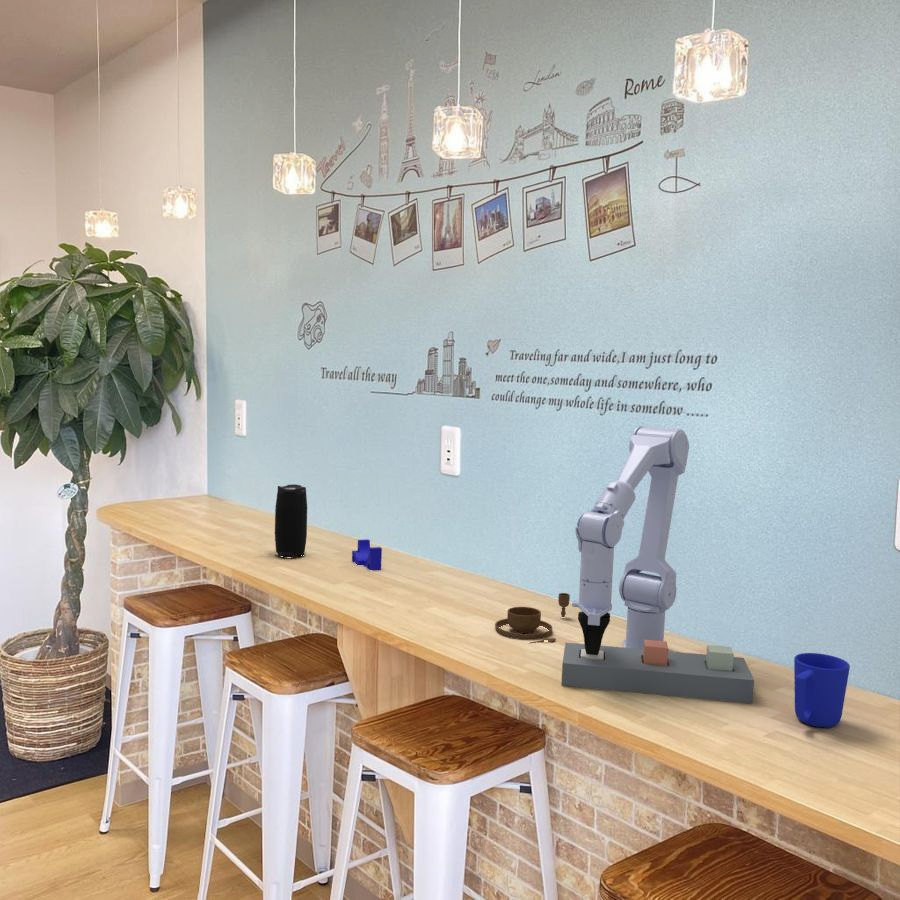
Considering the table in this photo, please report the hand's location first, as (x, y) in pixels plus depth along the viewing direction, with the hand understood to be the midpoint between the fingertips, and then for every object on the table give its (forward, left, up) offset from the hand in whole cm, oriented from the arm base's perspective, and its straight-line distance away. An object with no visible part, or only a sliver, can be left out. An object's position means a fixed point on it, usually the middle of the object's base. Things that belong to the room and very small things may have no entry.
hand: (592, 653), depth 162 cm
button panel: (0, +11, -4) cm, 12 cm away
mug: (+13, +35, -4) cm, 38 cm away
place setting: (-27, -11, -5) cm, 29 cm away
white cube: (0, 0, -4) cm, 4 cm away
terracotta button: (0, +11, -1) cm, 11 cm away
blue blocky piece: (-73, -61, -5) cm, 95 cm away
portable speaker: (-77, -84, -4) cm, 114 cm away
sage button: (0, +22, -1) cm, 22 cm away
